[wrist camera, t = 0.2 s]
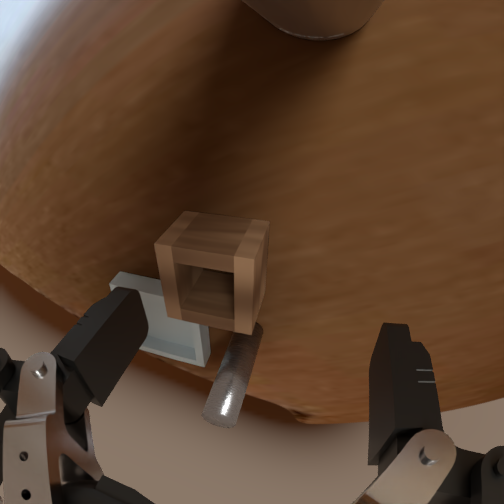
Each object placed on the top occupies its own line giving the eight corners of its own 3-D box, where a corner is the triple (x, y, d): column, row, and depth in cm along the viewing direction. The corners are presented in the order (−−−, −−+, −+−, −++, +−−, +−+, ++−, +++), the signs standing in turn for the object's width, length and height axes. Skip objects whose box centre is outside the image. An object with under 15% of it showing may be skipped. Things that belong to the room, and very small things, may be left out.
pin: (235, 317, 35) (199, 407, 25) (263, 322, 34) (235, 416, 24) (235, 336, 36) (203, 422, 27) (262, 341, 36) (235, 430, 26)
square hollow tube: (184, 210, 29) (154, 243, 24) (269, 221, 27) (254, 259, 22) (191, 278, 33) (167, 316, 28) (265, 292, 32) (251, 335, 27)
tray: (120, 271, 35) (109, 283, 33) (204, 288, 33) (196, 303, 31) (138, 333, 41) (130, 346, 39) (210, 352, 39) (204, 367, 37)
